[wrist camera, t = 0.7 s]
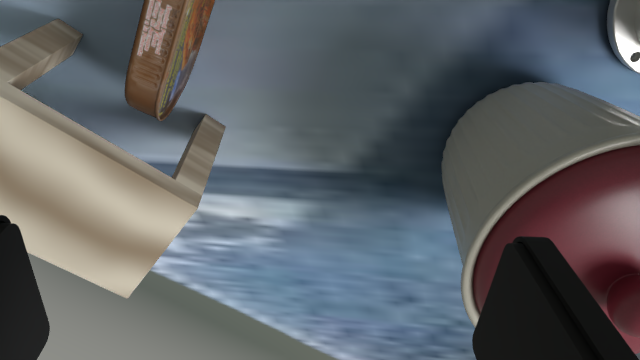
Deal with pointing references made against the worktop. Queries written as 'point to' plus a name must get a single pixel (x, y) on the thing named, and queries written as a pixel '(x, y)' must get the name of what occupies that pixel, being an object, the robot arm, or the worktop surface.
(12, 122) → the small wooden stool
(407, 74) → the worktop surface
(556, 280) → the robot arm
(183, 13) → the tin
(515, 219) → the canister
